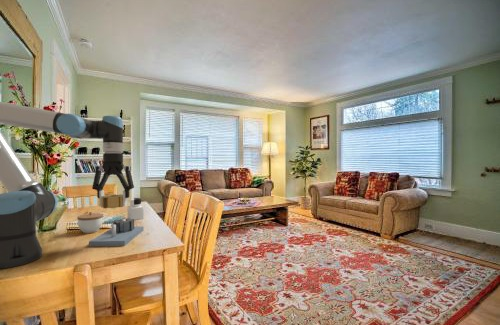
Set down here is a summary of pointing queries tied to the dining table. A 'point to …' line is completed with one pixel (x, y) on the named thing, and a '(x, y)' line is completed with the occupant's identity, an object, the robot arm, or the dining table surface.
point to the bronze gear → (112, 201)
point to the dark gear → (124, 225)
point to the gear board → (115, 237)
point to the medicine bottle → (135, 209)
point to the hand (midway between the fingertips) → (113, 205)
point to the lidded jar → (90, 222)
